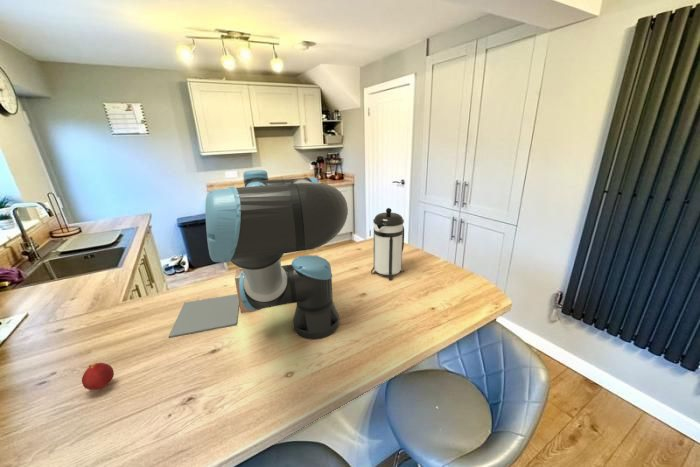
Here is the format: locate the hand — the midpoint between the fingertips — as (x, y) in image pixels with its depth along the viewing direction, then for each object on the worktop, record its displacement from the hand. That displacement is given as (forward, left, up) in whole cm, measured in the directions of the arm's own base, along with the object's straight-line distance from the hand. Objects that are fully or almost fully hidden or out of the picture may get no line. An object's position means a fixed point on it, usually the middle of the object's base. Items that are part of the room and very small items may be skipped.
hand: (269, 278), depth 102 cm
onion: (-26, +42, -10) cm, 51 cm away
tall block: (0, +8, -10) cm, 13 cm away
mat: (0, +22, -10) cm, 24 cm away
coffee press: (+9, -52, -10) cm, 53 cm away
